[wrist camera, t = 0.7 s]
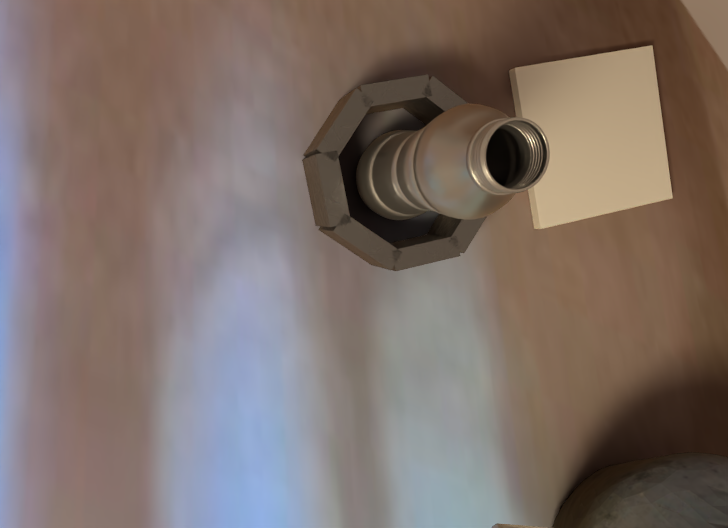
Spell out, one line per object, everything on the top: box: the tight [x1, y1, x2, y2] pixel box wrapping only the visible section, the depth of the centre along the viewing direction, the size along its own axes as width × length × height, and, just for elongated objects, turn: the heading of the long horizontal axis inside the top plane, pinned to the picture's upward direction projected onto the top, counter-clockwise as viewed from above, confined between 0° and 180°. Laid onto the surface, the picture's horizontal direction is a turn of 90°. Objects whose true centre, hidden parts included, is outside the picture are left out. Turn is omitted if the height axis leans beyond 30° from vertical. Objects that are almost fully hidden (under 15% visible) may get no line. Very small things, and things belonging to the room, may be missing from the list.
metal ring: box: [302, 75, 487, 271], centre depth 49 cm, size 13×13×5 cm
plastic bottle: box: [356, 104, 550, 220], centre depth 42 cm, size 6×7×20 cm
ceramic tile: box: [509, 45, 673, 229], centre depth 55 cm, size 13×13×1 cm
